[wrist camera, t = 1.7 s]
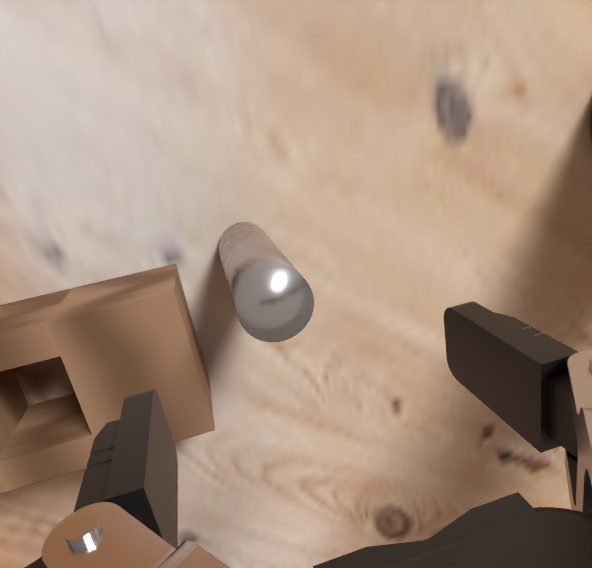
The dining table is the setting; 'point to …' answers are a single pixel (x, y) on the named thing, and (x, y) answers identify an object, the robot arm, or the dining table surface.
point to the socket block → (97, 369)
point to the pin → (264, 284)
